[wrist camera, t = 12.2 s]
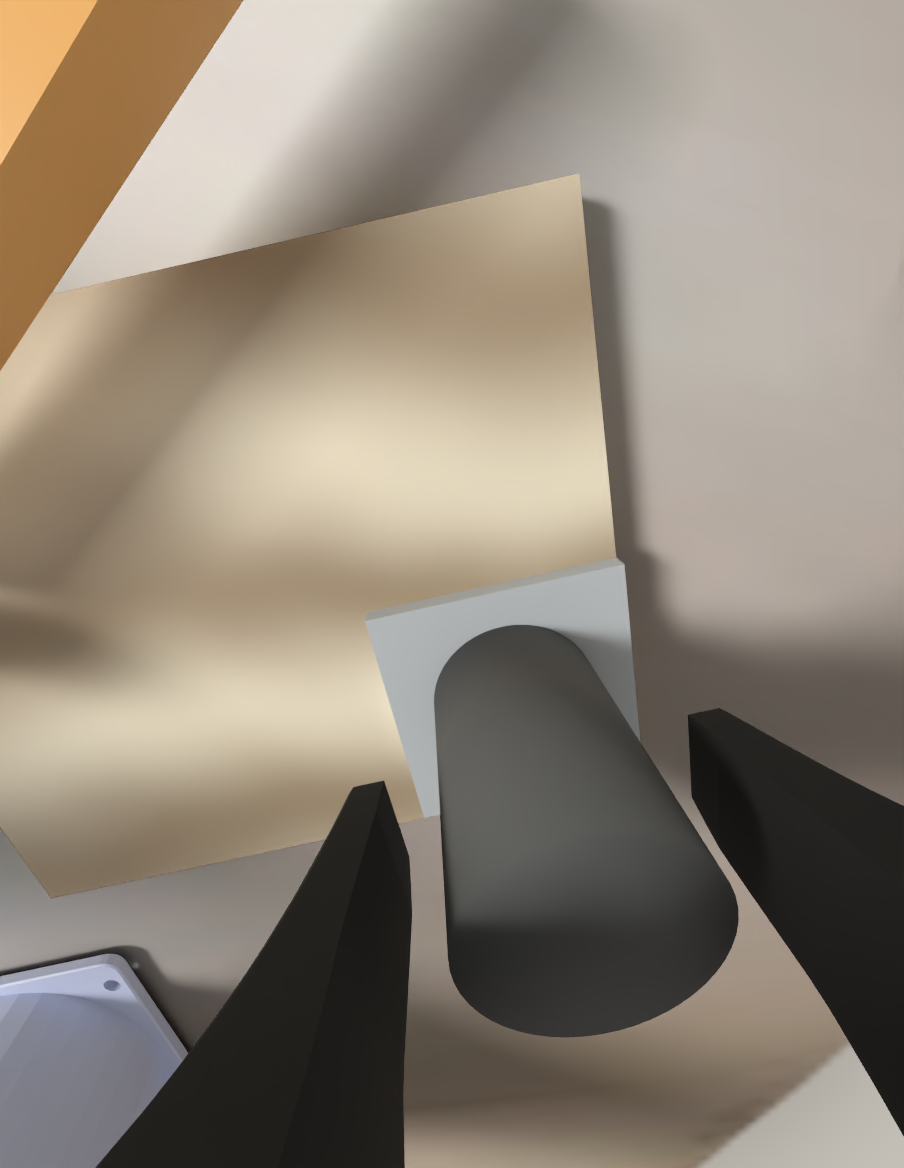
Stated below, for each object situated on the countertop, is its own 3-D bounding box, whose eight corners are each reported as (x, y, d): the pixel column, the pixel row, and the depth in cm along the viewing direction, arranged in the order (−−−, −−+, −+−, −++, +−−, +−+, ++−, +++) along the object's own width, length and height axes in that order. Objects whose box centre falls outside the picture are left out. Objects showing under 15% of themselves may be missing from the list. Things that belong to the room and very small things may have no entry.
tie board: (623, 749, 15) (636, 772, 14) (72, 867, 15) (50, 898, 14) (564, 193, 10) (579, 173, 9) (-251, 380, 10) (-318, 379, 9)
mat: (635, 758, 14) (643, 771, 14) (423, 804, 14) (424, 818, 14) (616, 557, 12) (624, 564, 11) (366, 611, 12) (364, 621, 12)
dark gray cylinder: (588, 759, 13) (713, 1024, 8) (436, 768, 13) (451, 1048, 8) (601, 620, 12) (764, 823, 6) (431, 629, 12) (443, 846, 6)
